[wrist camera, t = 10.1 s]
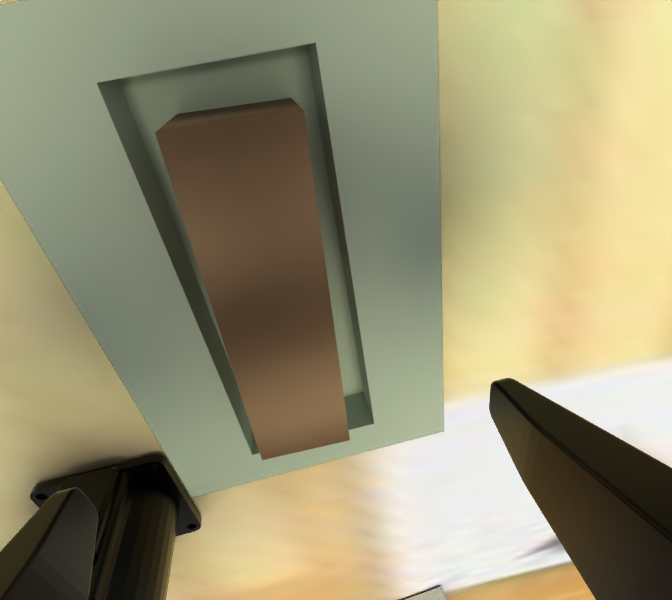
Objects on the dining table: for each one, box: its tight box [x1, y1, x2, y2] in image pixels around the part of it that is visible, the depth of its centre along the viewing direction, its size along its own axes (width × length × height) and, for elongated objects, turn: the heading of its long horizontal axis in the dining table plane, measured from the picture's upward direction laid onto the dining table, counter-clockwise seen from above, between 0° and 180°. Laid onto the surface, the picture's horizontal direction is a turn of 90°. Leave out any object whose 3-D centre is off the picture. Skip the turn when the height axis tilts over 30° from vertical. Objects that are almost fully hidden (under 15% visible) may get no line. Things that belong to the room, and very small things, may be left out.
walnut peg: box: [155, 98, 350, 460], centre depth 14 cm, size 12×4×4 cm, turn 6°
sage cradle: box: [0, 0, 444, 497], centre depth 15 cm, size 18×12×3 cm, turn 9°
